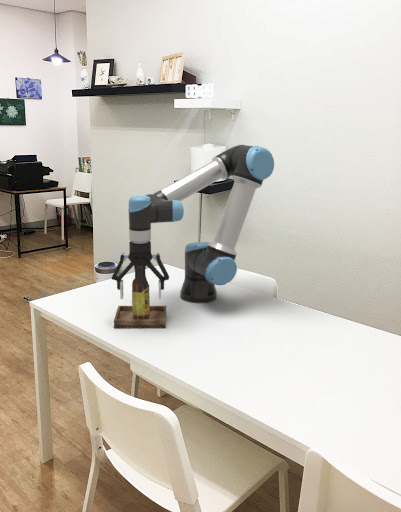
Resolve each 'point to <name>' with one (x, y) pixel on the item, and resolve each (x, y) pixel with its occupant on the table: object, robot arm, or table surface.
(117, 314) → the tray
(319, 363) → the table surface
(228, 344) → the table surface
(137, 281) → the sauce bottle
